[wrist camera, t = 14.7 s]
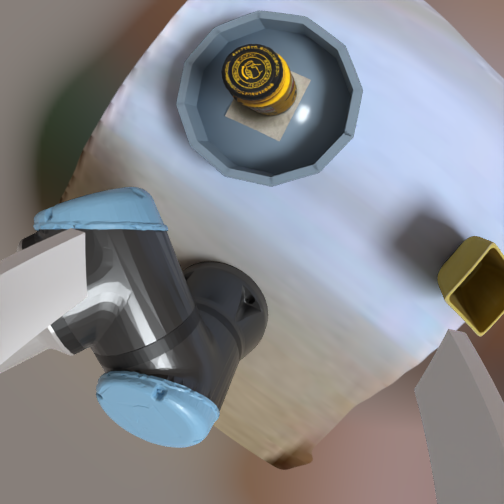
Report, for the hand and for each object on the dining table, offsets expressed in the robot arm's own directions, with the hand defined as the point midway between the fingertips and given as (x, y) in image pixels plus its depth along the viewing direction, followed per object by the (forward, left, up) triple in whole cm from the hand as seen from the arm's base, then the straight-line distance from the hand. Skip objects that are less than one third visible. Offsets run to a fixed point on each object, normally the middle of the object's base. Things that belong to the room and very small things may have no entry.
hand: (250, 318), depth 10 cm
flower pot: (-4, -24, -31) cm, 39 cm away
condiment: (+10, +6, -30) cm, 32 cm away
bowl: (+10, +6, -31) cm, 33 cm away
